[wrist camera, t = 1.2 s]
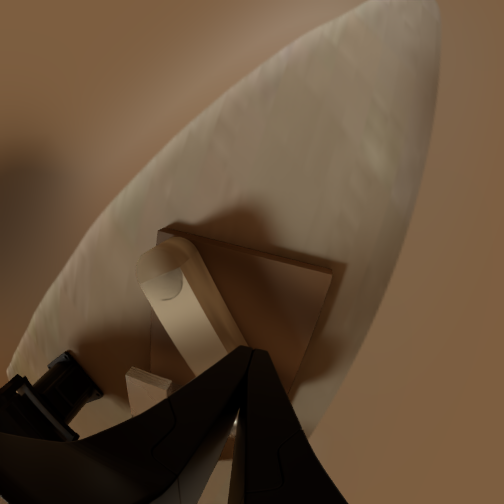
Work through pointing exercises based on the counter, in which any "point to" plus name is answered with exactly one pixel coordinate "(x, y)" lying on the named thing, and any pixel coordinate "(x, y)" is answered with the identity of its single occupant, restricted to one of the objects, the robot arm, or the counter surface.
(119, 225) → the counter surface
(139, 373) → the keeper
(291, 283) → the base plate
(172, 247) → the latch arm
